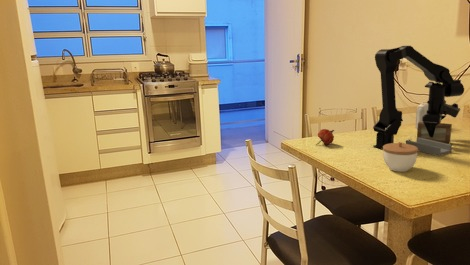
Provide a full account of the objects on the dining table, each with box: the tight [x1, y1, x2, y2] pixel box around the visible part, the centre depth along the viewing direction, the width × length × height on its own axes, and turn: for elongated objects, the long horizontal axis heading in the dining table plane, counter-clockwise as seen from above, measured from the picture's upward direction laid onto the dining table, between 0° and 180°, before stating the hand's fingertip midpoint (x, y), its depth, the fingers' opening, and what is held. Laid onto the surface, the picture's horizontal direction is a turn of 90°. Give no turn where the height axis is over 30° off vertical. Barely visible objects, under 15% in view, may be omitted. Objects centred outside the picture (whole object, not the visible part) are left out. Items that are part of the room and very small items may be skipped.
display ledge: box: [405, 137, 453, 157], centre depth 136 cm, size 7×14×3 cm, turn 26°
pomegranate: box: [315, 128, 335, 146], centre depth 151 cm, size 7×7×10 cm
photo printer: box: [415, 102, 428, 130], centre depth 168 cm, size 10×4×12 cm, turn 134°
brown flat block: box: [416, 122, 453, 144], centre depth 145 cm, size 3×12×8 cm, turn 51°
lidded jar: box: [382, 141, 419, 173], centre depth 117 cm, size 11×11×9 cm
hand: (433, 134), depth 146 cm, fingers open, 9 cm apart
